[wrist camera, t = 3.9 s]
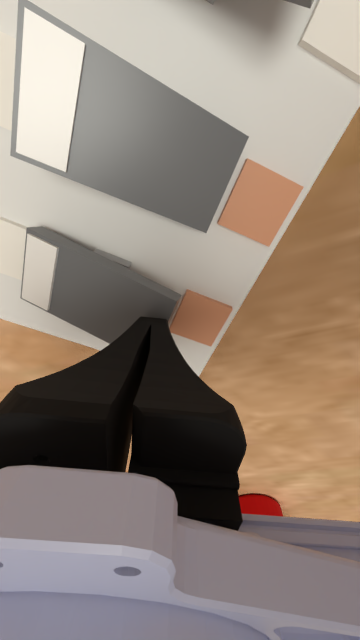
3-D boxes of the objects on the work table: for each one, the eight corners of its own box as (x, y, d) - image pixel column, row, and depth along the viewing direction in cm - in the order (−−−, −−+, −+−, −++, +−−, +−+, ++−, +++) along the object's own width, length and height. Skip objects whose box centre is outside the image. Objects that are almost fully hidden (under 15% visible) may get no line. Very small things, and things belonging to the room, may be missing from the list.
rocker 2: (182, 295, 12) (176, 302, 11) (155, 354, 14) (148, 365, 13) (42, 226, 12) (24, 227, 11) (34, 292, 14) (18, 299, 13)
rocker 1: (239, 137, 11) (250, 136, 10) (200, 228, 12) (207, 234, 12) (29, 10, 8) (16, -9, 7) (19, 155, 9) (8, 155, 8)
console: (452, -102, 9) (578, -235, 6) (194, 359, 20) (196, 389, 17) (9, -487, 6) (-139, -1047, 4) (-9, 291, 18) (-48, 313, 15)
